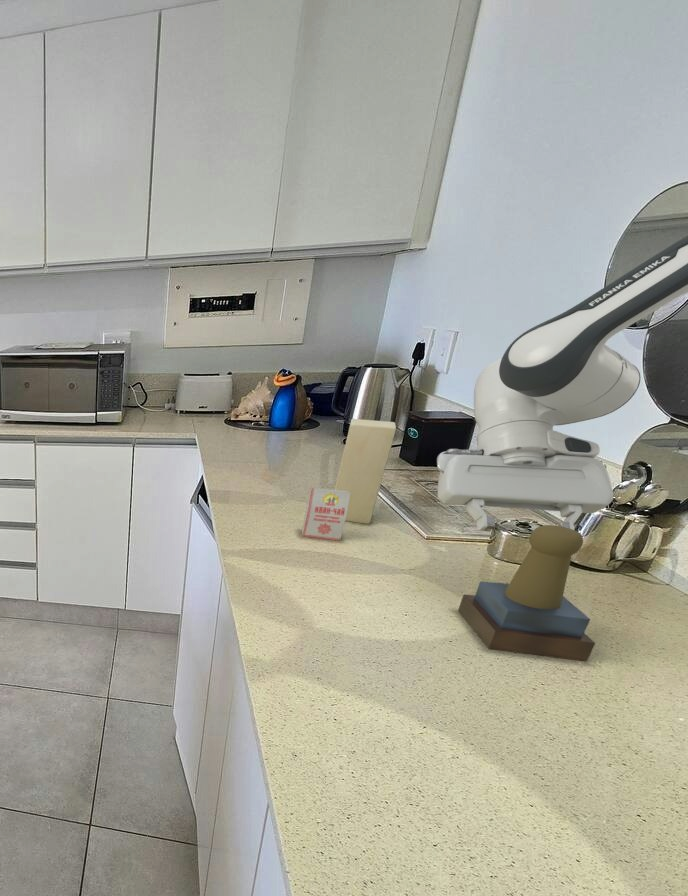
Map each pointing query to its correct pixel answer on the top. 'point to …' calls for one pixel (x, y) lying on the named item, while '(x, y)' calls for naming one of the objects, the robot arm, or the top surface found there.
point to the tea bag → (325, 514)
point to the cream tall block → (364, 466)
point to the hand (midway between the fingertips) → (524, 532)
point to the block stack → (526, 624)
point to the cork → (545, 567)
